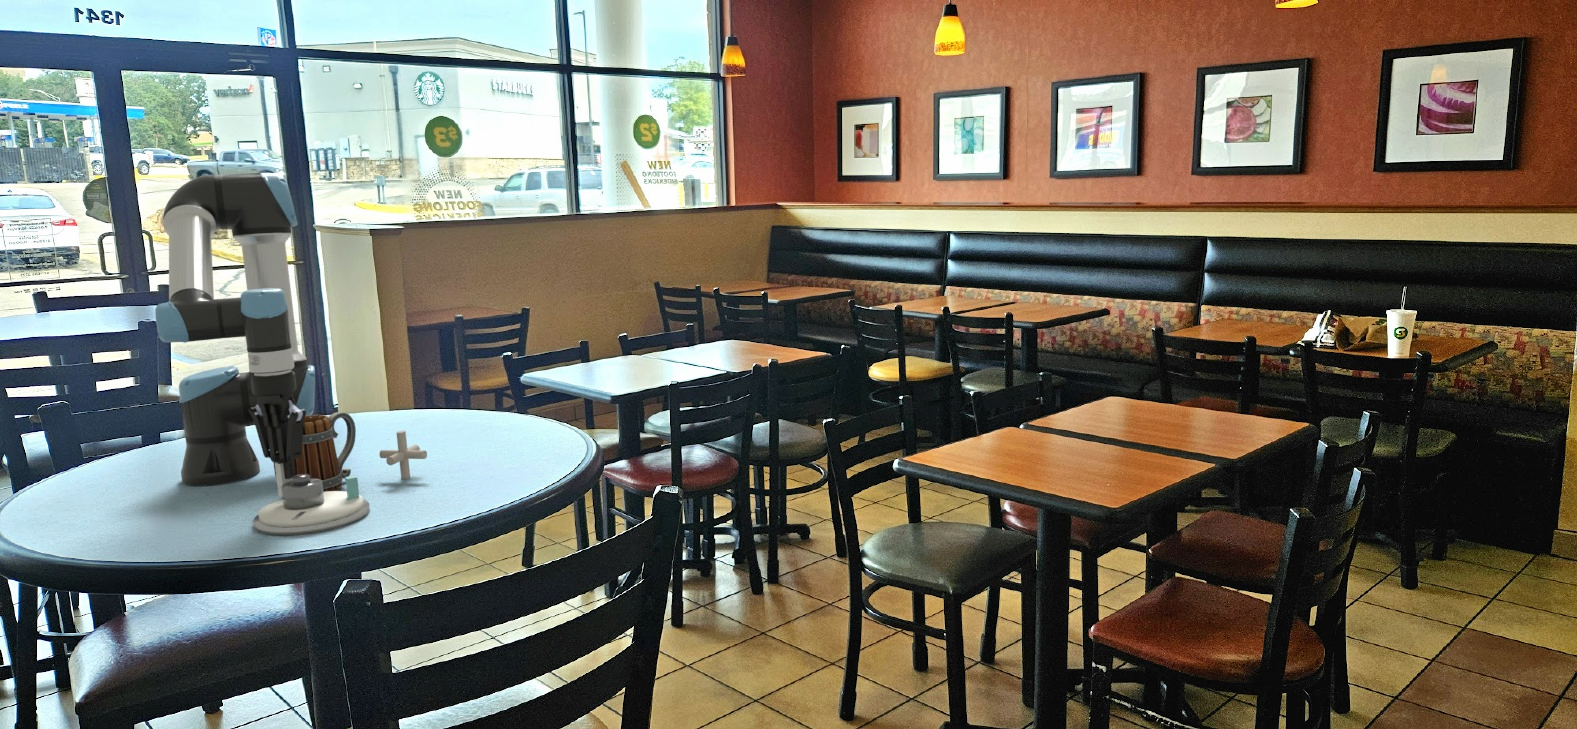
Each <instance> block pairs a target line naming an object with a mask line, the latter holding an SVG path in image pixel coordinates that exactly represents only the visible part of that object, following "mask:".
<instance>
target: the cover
mask: <svg viewBox="0 0 1577 729" xmlns="http://www.w3.org/2000/svg"><path fill="white" fill-rule="evenodd" d="M292 480H293V481H291V482H288V483H285V484H283V485H282V486H281V488H282V496H283V497H282V499H283V504H284V508H285V509H287V510H303V509H309V508H313V507H317V506H319V505H322V504H323V503H324V493H323V485H322V480H320V479H310V475H309V474H299V475H295V476H293V477H292Z"/></svg>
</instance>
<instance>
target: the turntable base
mask: <svg viewBox="0 0 1577 729" xmlns="http://www.w3.org/2000/svg"><path fill="white" fill-rule="evenodd" d="M370 510H371V509H370V502H369V501H368V500H367V499H364V498H363V507H362V508H361V509H360V510H359V511H357V512H356V513H354V514H352V515H349V516H347V517H344V518H341V519H337V520H334V521H330V522H326V523H321V524H315V525H308V526H299V527H273V526H267V525H264V524H262V523H261V522H260V521H259V515H258V514H257V515H256V516H255V517H253V520H252V524H253V529H254V531H255V532H256V533H259V534H260V535H261V534H262V535H267V536H272V537H273V536H274V537H275V536H277V537H287V536H288V537H292V536H293V537H294V536H304V535H312V534H318V533H324V532H329V531H333V530H337V529H340V528H344V527H347V526H349V525H351V524H354V523H356V522H359V521H362V520H363V519H364V518H366V517H367V516H368V515H369V514H370V512H371V511H370Z"/></svg>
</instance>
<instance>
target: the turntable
mask: <svg viewBox="0 0 1577 729" xmlns="http://www.w3.org/2000/svg"><path fill="white" fill-rule="evenodd" d="M345 487H346V488H345V489H346V490H345V491H344V490H343V491H342V490H337V491H327V492H323V493H324V503H323V504H322V505H319V506H317V507H313V508H309V509H303V510H287V509H285V508H284V504H283V498H282V499H279V500H276V501H273V502H270V503H269V504H266V505H265V506H263V507H262V508H260V509H259V511H258V514H257V515H259V521H260V522H261V523H262V524H264V525H267V526H273V527H299V526H308V525H315V524H321V523H326V522H330V521H334V520H337V519H341V518H344V517H347V516H349V515H352V514H354V513H356V512H357V511H359V510H360V509H361V508H362V507H363V499H364V497H363V496H362V495H361V494H360V491H359V490H360V489H359V483H358V476H356V475H350V476H349V477H345Z"/></svg>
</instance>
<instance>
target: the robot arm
mask: <svg viewBox="0 0 1577 729" xmlns="http://www.w3.org/2000/svg"><path fill="white" fill-rule="evenodd" d="M162 221H163V222H162V225H163V229H164V231H165V233H166V234H167V236H168V301H166V302H163V303H158V304H157V305H156V307H155V309H154V310H155V312H154V314H155V324H156V330H157V333H158V337H159V339H160V341H162V342H163V343H184V344H185V343H190V342H191V343H192V342H199V341H211V340H221V339H232V338H245V341H246V342H245V343H246V352H247V358H248V370H249V371H248V372H245V371H244V372H240V370H239V369H238V367H237V366H233V365H232V366H231V365H230V366H222V367H217V368H211V369H208V370H203V371H199V372H196V373H193V374H190V375H188V376H186V377H184V378H183V379H182V380H180V382H179V384H178V392H179V399H178V401H179V402H178V403H179V404H180V408H181V415H182V422H183V431H184V438H185V444H186V446H185V452H184V457H183V461H182V462H183V463H182V467H181V470H180V477H181V482H182V484H183V485H186V486H196V487H197V486H199V487H201V486H203V487H204V486H213V485H214V486H215V485H223V484H228V483H234V482H238V481H242V480H245V479H249V478H251V477H254V476H255V475H257V474H259V473H260V471H261V468H260V461H259V459H258V457H257V455H256V453H255V451H254V449H253V447H252V445H251V443H250V442H249V440H248V436H247V430H246V427H247V426H249V427H250V426H254V427H255V429H256V433H257V436H258V440H259V442H260V444H259V445H260V446H261V450H262V454H263V456H264V458H266V459H268V458H269V459H270V460H271V462H272V463H273V469H274V475H275V478H276V484H277V493H278V497H282V498H283V496H282V488H281V486H282V485H283V484H285V483H288V482H291V481H293V480H292V477H293V476H295V470H294V460H295V459H297V458H299V457H301V456H302V438H303V421H304V418H305V416H307V415H309V416H310V417H312V415H314V410H315V391H316V390H315V389H316V388H315V387H316V381H315V380H316V379H315V378H316V377H315V375H316V368H315V366H314V365H311V364H308V359H307V357H306V356H305V355H303V353H301V352H300V351H299V347H298V337H297V332H296V323H295V315H294V314H295V313H294V306H293V297H292V289H291V288H292V287H291V281H290V280H291V279H290V273H289V264H288V255H287V248H286V242H287V241H288V240H289V238H290V237H291V236H292V235H293V234H292V227H293V228H294V227H296V226H298V224H299V223H298V220H297V216H296V211H295V207H294V203H293V199H292V196H291V192H290V189H289V185H288V181H287V179H286V178H285V176H284V175H282V174H280V173H273V172H272V173H271V172H256V173H255V172H254V173H233V174H230V173H229V174H205V175H202V176H197V177H195V178H193V179H191V180H189V181H187V182H185V183H184V184H182V185H181V186H180V187H179V188H178V189H177V190H176V191H175V192H174V193H173V194H172V195H171V197H170V198H169V200H168V201H167V203H166V205H165V208H164V210H163V216H162ZM217 230H219V231H221V230H223V231H224V230H226V231H227V230H231V234H232V239H233V240H235V241H236V242H237V243H238V244H240V246H241V251H242V260H243V268H244V274H245V275H244V276H245V282H246V283H245V284H246V290H244V291H242V293H241V294H240V297H230V298H215V297H214V295H215V294H214V273H213V271H214V269H213V253H212V252H213V250H212V237H213V236H214V234H215V232H216V231H217Z"/></svg>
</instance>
